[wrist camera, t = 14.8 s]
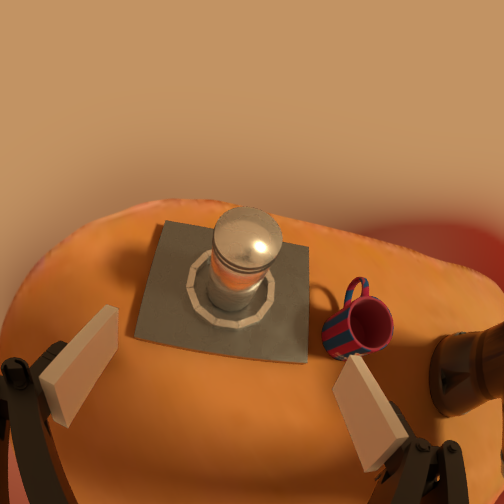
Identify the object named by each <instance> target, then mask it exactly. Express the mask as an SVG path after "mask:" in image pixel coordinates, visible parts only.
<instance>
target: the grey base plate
mask: <svg viewBox="0 0 504 504" xmlns="http://www.w3.org/2000/svg"><path fill="white" fill-rule="evenodd" d="M213 231H214V229H212V228H206V227H201V226H195V225H189V224H184V223H178V222H173V221H167V220H166V221H165V224H164V227H163V230H162V233H161V236H160V239H159V242H158V246H157V249H156V252H155V256H154V259H153V263H152V266H151V270H150V273H149V277H148V280H147V284H146V288H145V292H144V296H143V300H142V304H141V308H140V312H139V316H138V320H137V325H136V329H135V334H134V337H135V338H136V339H137V340H141V341H145V342H150V343H154V344H159V345H163V346H168V347H173V348H178V349H183V350H188V351H194V352H199V353H205V354H211V355H218V356H225V357H232V358H239V359H247V360H256V361H265V362H275V363H287V364H301V365H303V364H306V363H307V358H308V330H309V247H306V246H301V245H296V244H291V243H286V242H282V246H281V250H280V253H279V255H278V257H277V258H276V260H275V262H274V263H273V264H272V265H271V266H270V268H269V270H268V272H267V273H266V275H265V277H264V279H263V280H262V282H261V284H260V286H259V287H258V289H257V291H256V293H255V294H254V296H253V298H252V299H251V301H250V303H249V304H248V305H247V306H246V307H244V308H243V309H240V310H237V311H225V310H222V309H220V308H218V307H217V306H215V305H214V304H213V303H212V301H211V300H210V298H209V296H208V293H207V283H208V275H209V268H210V260H211V253H212V238H213Z"/></svg>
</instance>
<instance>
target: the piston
mask: <svg viewBox="0 0 504 504" xmlns="http://www.w3.org/2000/svg"><path fill="white" fill-rule="evenodd" d="M281 246H282V232H281V229H280V227H279V225H278V224H277V222H276V221H275V220H274V219H273V218H272V217H271V216H270V215H269V214H267V213H265V212H264V211H262V210H259V209H256V208H252V207H237V208H233V209H231V210H228V211H227V212H225V213H224V214H223V215H222V216H221V217H220V218H219V219H218V221H217V223H216V225H215V228H214V231H213V238H212V253H211V260H210V268H209V275H208V283H207V293H208V296H209V298H210V300H211V301H212V303H213V304H214V305H215V306H217V307H218V308H220V309H222V310H225V311H237V310H240V309H243V308H244V307H246V306H247V305H248V304H249V303H250V301H251V299H252V298H253V296H254V294H255V293H256V291H257V289H258V287H259V286H260V284H261V282H262V280H263V279H264V277H265V275H266V273H267V272H268V270H269V268H270V266H271V265H272V264H273V263H274V262H275V260H276V258H277V257H278V255H279V253H280V250H281Z"/></svg>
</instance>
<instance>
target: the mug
mask: <svg viewBox="0 0 504 504" xmlns="http://www.w3.org/2000/svg"><path fill="white" fill-rule="evenodd" d="M359 282H361V283H362V293H361V297H359V298H357V299H356V300H354V301H353V302H351V298H352V294H353V291H354V288H355V287H356V285H357V284H358V283H359ZM393 329H394V326H393V319H392V315H391V313H390V311H389V309H388V308H387V306H386V305H385V304H384V303H383V302H382V301H381V300H379V299H378V298H376V297H373V296H369V284H368V281H367V279H366V278H363V277H356V278H355V279H353V280H352V282H351V283H350V284H349V286H348V288H347V291H346V295H345V300H344V308H343V309H341V310H340V311H338V312H337V313H335V314H334V315H332V316H331V317H329V318H328V319H327V321H326V322H325V324H324V326H323V329H322V342H323V345H324V347H325V349H326V351H327V352H328V353H329V354H330V355H331V356H332V357H333V358H335V359H337V360H340V361H347V359H348V357H349V355H356V356H364V355H367V354H370V353H373V352H376V351H379V350H381V349H383V348H385V347H386V346H387V345H388V343H389V342H390V340H391V338H392V335H393Z"/></svg>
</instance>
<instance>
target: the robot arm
mask: <svg viewBox="0 0 504 504" xmlns="http://www.w3.org/2000/svg"><path fill="white" fill-rule="evenodd" d="M117 349H118V308H116V307H113V306H110V305H107V304H106V305H105V306H104V307H103V308H102V309H101V310H100V311H99V312H98V313H97V314H96V315H95V316H94V317H93V318H92V319H91V320H90V321H89V322H88V323H87V324H86V325H85V326H84V327H83V328H82V330H81V331H80V332H79V333H78V334H77V335H76V336H75V337H74V338H73V339H72V340H71V341H70V342H69V343H68V344H67V343H65V342H63V341H59V342H56V343H54V344H52V345H51V346H50V347H49V348H48V349H47V350H46V352H44V353H43V354H42V356H40V357H39V358H38V360H37V361H36V362H35V363H34V364H33V365H32V366H31V367H30V368H29V366H28V363H27V362H26V361H25V360H23V359H21V358H16V357H13V358H9V359H7V360H5V361H4V362H3V363H2V365H1V371H2V374H3V376H1V375H0V504H10V503H9V491H8V446H9V445H8V444H9V432H10V428H11V434H12V440H13V445H14V450H15V455H16V459H17V463H18V467H19V471H20V475H21V478H22V482H23V485H24V488H25V491H26V494H27V497H28V500H29V503H30V504H78V503H77V501H76V498H75V496H74V494H73V492H72V490H71V487H70V485H69V483H68V480H67V478H66V475H65V473H64V470H63V467H62V465H61V462H60V459H59V456H58V453H57V450H56V447H55V444H54V441H53V437H52V434H51V430H50V427H49V423H48V420H47V418H48V416H49V415H50V413H51V415H52V418H53V420H54V421H55V422H57V423H59V424H61V425H63V426H65V427H67V428H69V426H70V424H71V422H72V421H73V419H74V417H75V416H76V414H77V412H78V411H79V409H80V407H81V406H82V404H83V402H84V401H85V399H86V397H87V396H88V394H89V393H90V391H91V389H92V388H93V386H94V385H95V383H96V381H97V380H98V378H99V377H100V375H101V374H102V372H103V370H104V369H105V367H106V366H107V364H108V363H109V361H110V360H111V358H112V357H113V355H114V354H115V352H116V351H117ZM429 382H430V391H431V396H432V399H433V402H434V404H435V406H436V408H437V409H438V411H439V412H440V413H441V414H443V415H445V416H447V417H454V416H461V415H464V414H466V413H468V412H469V411H471V410H472V409H474V408H476V407H478V406H480V405H482V404H483V403H485V402H487V401H489V400H492V399H496V398H501V399H502V416H503V432H502V450H501V455H500V456H501V473H502V475H503V478H504V322H502V323H500V324H498V325H496V326H493V327H491V328H489V329H487V330H485V331H481V332H467V333H466V332H457V333H454V334H452V335H449V336H447V337H445V338H444V339H442V340H441V341H440V343H439V344H438V345H437V347H436V349H435V351H434V354H433V357H432V360H431V365H430V375H429ZM332 390H333V393H334V395H335V398H336V400H337V403H338V405H339V408H340V410H341V413H342V415H343V418H344V421H345V423H346V426H347V428H348V431H349V433H350V436H351V438H352V441H353V444H354V446H355V449H356V451H357V454H358V457H359V459H360V462H361V465H362V467H363V470H364V473H365V472H371V471H376V470H378V469H379V468H380V467H381V466H382V465H383V464H384V465H385V467H386V469H385V470H384V471H383V472H381V473H380V474H379V475H378V476H377V477H376V478H375V481H376V480H377V479H378V478H380V479H379V481H378V483H377V485H376V488H375V490H374V492H373V494H372V496H371V498H370V500H369V502H368V504H469V497H468V488H467V480H466V473H465V467H464V461H463V456H462V450H461V448H460V446H459V444H458V443H457V442H455V441H452V440H447V441H445V442H444V443H443V444H442V446H441V447H437V446H431V444H430V443H429V442H428V441H427V440H425V439H423V438H416V436H415V434H414V433H413V431H412V429H411V428H410V426H409V424H408V423H407V421H406V420H405V418H404V416H403V415H402V413H401V411H400V409H399V408H398V406H396V405H395V404H394V403H393V402H392V401H388V400H387V398H386V396H385V395H384V393H383V392H382V390H381V388H380V387H379V385H378V383H377V382H376V380H375V378H374V377H373V375H372V374H371V372H370V370H369V369H368V367H367V365H366V364H365V362H364V361H363V359H362V357H361V356H356V355H349V357H348V359H347V361H346V363H345V365H344V367H343V369H342V371H341V373H340V375H339V377H338V379H337V381H336V383H335V385H334V386H333V388H332ZM439 475H440V480H439V481H437V477H438V476H439Z"/></svg>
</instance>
